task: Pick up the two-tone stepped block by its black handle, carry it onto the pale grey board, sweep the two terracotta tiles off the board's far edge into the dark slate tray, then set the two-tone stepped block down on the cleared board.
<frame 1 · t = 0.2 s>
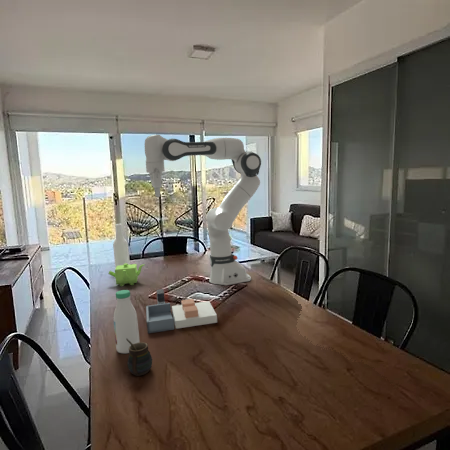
hand: (157, 196, 174), 47 cm above the table, tool pointing down, fingers open, 8 cm apart
mate gourd: (140, 372, 104), on the table
two-tone stepped block: (161, 306, 156), on the table
tray: (160, 322, 138), on the table
tile front: (191, 314, 136), point 3 cm above the table, touching board
tile back: (188, 307, 144), point 3 cm above the table, touching board
board: (193, 317, 141), on the table
alcohol: (123, 271, 219), on the table
kettle: (128, 284, 192), on the table
milk bottle: (128, 349, 118), on the table
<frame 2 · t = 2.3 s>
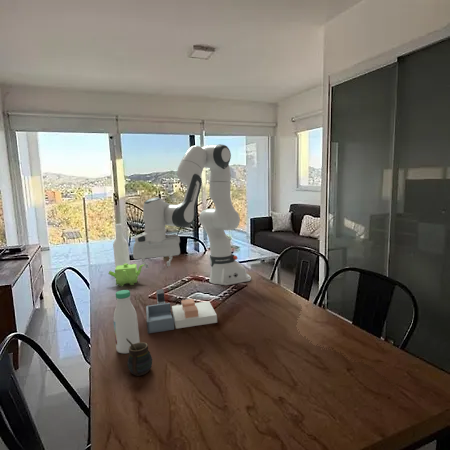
hand: (157, 266, 153), 18 cm above the table, tool pointing down, fingers open, 8 cm apart
nothing on the table moved.
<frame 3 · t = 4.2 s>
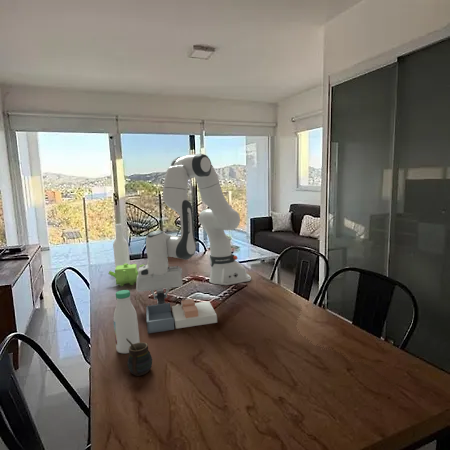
hand: (160, 298, 155), 4 cm above the table, tool pointing down, fingers closed on two-tone stepped block, 3 cm apart
two-tone stepped block: (161, 306, 156), on the table, touching gripper
everything else where it was.
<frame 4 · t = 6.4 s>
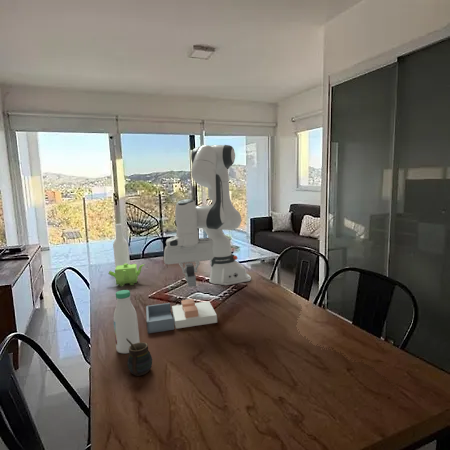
hand: (189, 272, 144), 17 cm above the table, tool pointing down, fingers closed on two-tone stepped block, 3 cm apart
two-tone stepped block: (190, 281, 144), point 14 cm above the table, touching gripper
everything else where it was.
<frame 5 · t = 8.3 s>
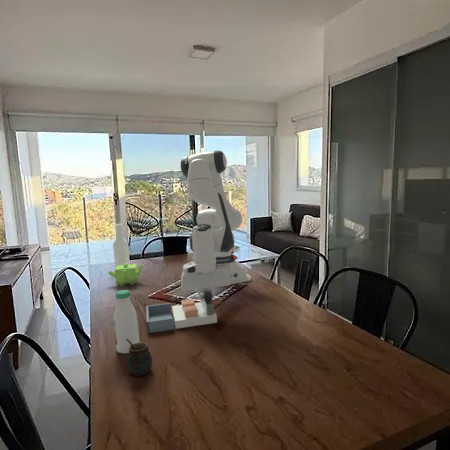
hand: (207, 298, 141), 7 cm above the table, tool pointing down, fingers closed on two-tone stepped block, 3 cm apart
two-tone stepped block: (207, 307, 142), point 4 cm above the table, touching gripper
everything else where it was.
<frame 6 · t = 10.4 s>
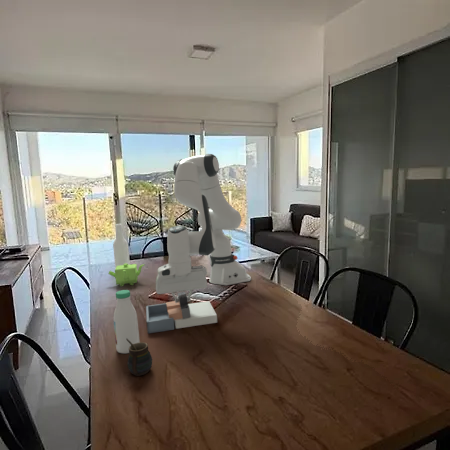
hand: (182, 301, 139), 7 cm above the table, tool pointing down, fingers closed on two-tone stepped block, 3 cm apart
two-tone stepped block: (184, 311, 140), point 3 cm above the table, touching gripper, tile back, tile front
tile front: (175, 317, 135), point 3 cm above the table, touching two-tone stepped block
tile back: (173, 309, 143), point 3 cm above the table, touching two-tone stepped block
everything else where it was.
when the fingers open (8 cm above the table, at t = 13.1 s): two-tone stepped block stays where it is and tips over, resting on board.
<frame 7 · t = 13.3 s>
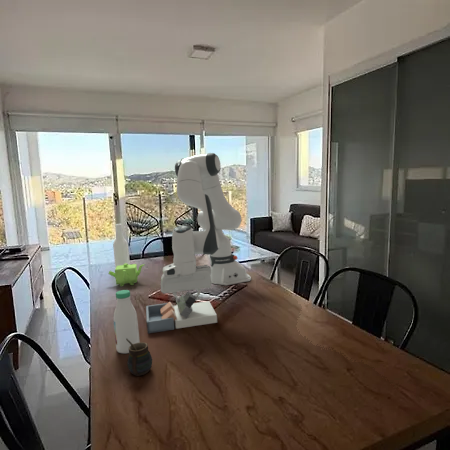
hand: (187, 300, 139), 7 cm above the table, tool pointing down, fingers open, 6 cm apart
two-tone stepped block: (181, 309, 139), point 4 cm above the table, tilted 41°, touching board, gripper
tile front: (170, 319, 134), point 2 cm above the table, tilted 32°, touching board, tray
tile back: (169, 311, 143), point 2 cm above the table, tilted 32°, touching board, tray
everything else where it was.
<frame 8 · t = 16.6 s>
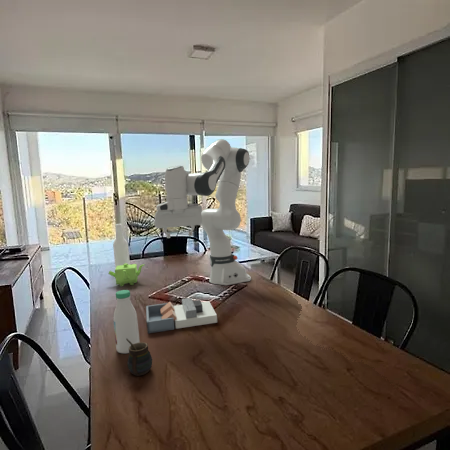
hand: (179, 236, 150), 31 cm above the table, tool pointing down, fingers open, 8 cm apart
two-tone stepped block: (184, 308, 139), point 4 cm above the table, tilted 90°, touching board
everything else where it was.
at the end: tile front inside the target area (5.8 cm from its centre), point 2.1 cm above the table; tile back inside the target area (5.8 cm from its centre), point 2.1 cm above the table; the gripper is holding nothing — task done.
